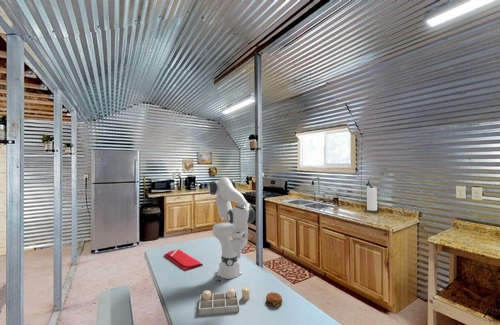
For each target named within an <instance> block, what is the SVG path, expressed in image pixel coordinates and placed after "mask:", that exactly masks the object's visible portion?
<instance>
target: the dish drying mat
mask: <svg viewBox="0 0 500 325" xmlns="http://www.w3.org/2000/svg"><path fill="white" fill-rule="evenodd" d="M164 257H165V258H166V259H167V260H168V261H170V262H171V263H172V264H174V265H175V266H177V267H179V268H180V269H181V270H183V271H184V272H186V271H187V272H188V271H190V270H193V269H194V270H195V269H197V268H199V267H203V263H202V262H201V261H199V260H197V259H196V258H194V257H192V256H191V255H190V254H187V253H186V252H184V251H182V250H181V249H180V248H179V249H174V250H171V251H168V252H166V253H164Z"/></svg>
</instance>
